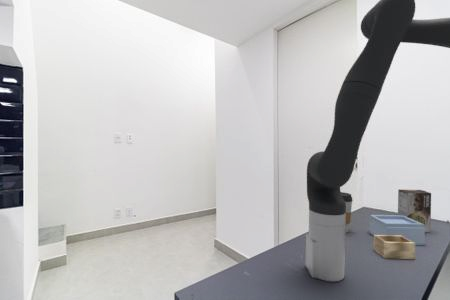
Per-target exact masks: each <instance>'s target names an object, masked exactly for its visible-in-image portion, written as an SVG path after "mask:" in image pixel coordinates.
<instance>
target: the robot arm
mask: <svg viewBox="0 0 450 300" xmlns="http://www.w3.org/2000/svg"><path fill="white" fill-rule="evenodd" d="M415 12H416V1H415V0H379V1H377V2H376V4H374V6H373V7H372V8H371V9H369V11H368V12H367V13H365V15H364V16H363V18H362V20H361V22H360V31H361V34H362V35H363V36H364V38H365V39H367V42H366V44H365V46H364V48H363V50H362V51H361V52H360V54H359V56H358V57H357V58H356V60H355V61H354V63H353V64H352V66H351V67H350V69H349V71H348V72H347V73H346V75H345V78H344V80H343V82H342V83H341V84H342V85H341V87H340V89H339V92H338V95H337V98H336V101H335V105H334V120H333V122H334V123H333V129H332V133H331V135H330V138H329V140H328V143H327V145H326V147H325V149H324V151H317V152H316V153H314V154H312V156H311V157H310V158H309V159H308V162H307V167H306V196H307V199H308V200H307V201H308V233H307V232H306V234H305V267H306V270H307V271H308V273H309V275H310V276H311V277H312V278H313V279H314V278H315V279H319V280H322V281H326V282H340V281H342V280H343V279H344V277H345V267H346V266H345V256H346V255H345V254H346V253H345V251H346V249H345V248H346V233H345V222H346V203H345V201H344V199H343V197H342V195H341V192H342V191H341V188H342V187H343V186H344V185H346V184H347V182H348V181H349V180H350V179H351V177H352V174H353V171H354V168H355V164H356V160H357V156H358V154H359V148H360V145H361V142H362V140H363V137H364V134H365V132H366V129H367V127H368V124H369V122H370V119H371V117H372V115H373V113H374V109H375V107H376V105H377V102H378V101H379V97H380V95H381V92H382V90H383V86H384V84H385V81H386V79H387V75H388V74H389V72H390V70H391V66H392V63H393V61H394V57H395V55H396V53H397V50H398V48H399V47H400V44H401V43H403V44H404V43H406V44H418V45H419V44H421V45H429V46H430V45H431V46H437V47H443V48H448V49H450V17H442V18H433V19H432V18H431V19H414V17H415V14H416V13H415Z"/></svg>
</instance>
